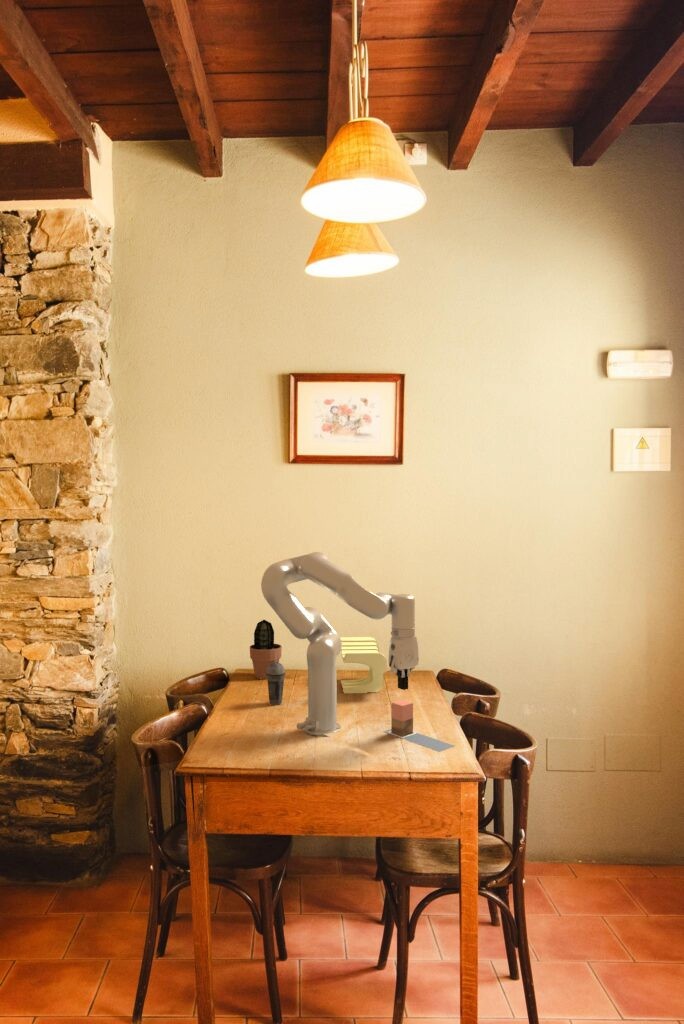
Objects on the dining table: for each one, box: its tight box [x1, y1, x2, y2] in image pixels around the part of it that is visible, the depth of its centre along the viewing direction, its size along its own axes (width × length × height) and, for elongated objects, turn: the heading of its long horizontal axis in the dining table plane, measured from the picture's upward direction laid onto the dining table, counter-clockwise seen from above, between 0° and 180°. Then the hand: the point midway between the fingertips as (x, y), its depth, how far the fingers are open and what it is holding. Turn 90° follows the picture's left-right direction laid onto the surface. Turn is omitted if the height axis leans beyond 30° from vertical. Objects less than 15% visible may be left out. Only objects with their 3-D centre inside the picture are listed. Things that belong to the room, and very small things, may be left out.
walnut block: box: [390, 717, 414, 737], centre depth 235 cm, size 5×5×5 cm
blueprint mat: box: [383, 729, 455, 753], centre depth 229 cm, size 8×24×1 cm, turn 42°
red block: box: [390, 699, 414, 721], centre depth 234 cm, size 5×5×5 cm
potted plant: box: [249, 619, 283, 680], centre depth 307 cm, size 14×14×25 cm
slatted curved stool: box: [339, 636, 388, 694], centre depth 291 cm, size 30×16×18 cm, turn 4°
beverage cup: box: [266, 651, 286, 706], centre depth 269 cm, size 7×7×20 cm
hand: (402, 688), depth 234 cm, fingers closed
